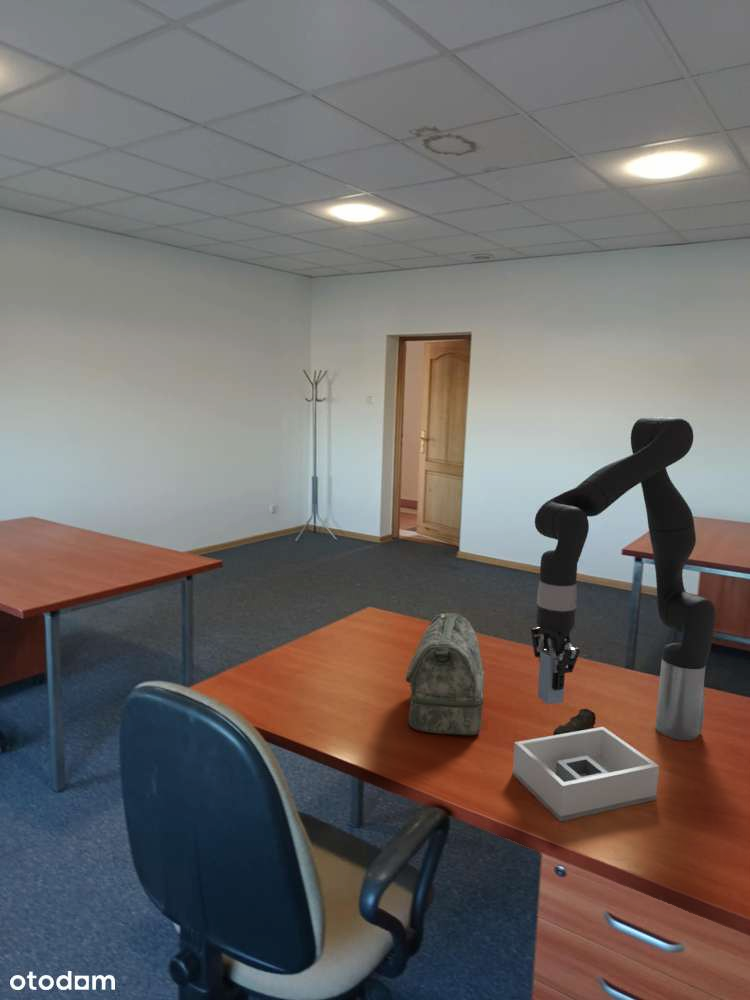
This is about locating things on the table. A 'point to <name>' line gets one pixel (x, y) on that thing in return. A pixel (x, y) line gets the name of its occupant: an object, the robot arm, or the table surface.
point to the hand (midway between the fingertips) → (551, 684)
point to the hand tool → (577, 722)
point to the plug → (548, 680)
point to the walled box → (584, 772)
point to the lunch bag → (447, 678)
